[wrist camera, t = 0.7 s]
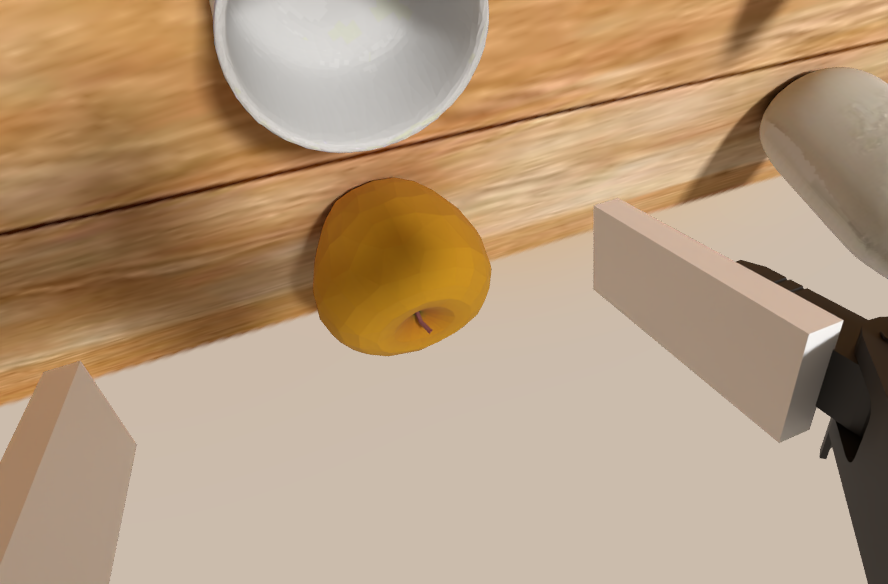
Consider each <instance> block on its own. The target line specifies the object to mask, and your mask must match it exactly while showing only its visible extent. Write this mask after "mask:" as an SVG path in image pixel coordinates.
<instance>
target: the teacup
mask: <svg viewBox="0 0 888 584" xmlns="http://www.w3.org/2000/svg"><path fill="white" fill-rule="evenodd" d="M209 2H210V7H211V12H212V17H213V32H214V45H215V49H216V53H217V56H218V60H219V63H220V66H221V69H222V72H223V74H224V77H225V79H226V81H227V82H228V84H229V86H230V87H231V89H232V91H233V93H234V94H235V96H236V98H237V99H238V100H239V102H240V103H241V104H242V106H243V107H244V108H245V109H246V111H247V112H248V113H249V114H250V115H251V116H252V117H253V118H254V119H255V120H256V121H257V122H258V123H259V124H261V125H263V126H264V127H265V128H267V129H268V130H269V131H271V132H272V133H274V134H276V135H277V136H279V137H281V138H283V139H284V140H286V141H289V142H291V143H294V144H297V145H299V146H302V147H305V148H307V149H312V150H317V151H324V152H335V153H352V152H360V151H369V150H374V149H376V148H382V147H386V146H388V145H391V144H394V143H397V142H399V141H402V140H404V139H406V138H408V137H410V136H411V135H414V134H416V133H418V132H419V131H421V130H422V129H424V128H425V127H427V126H428V125H429V124H430V123H432V122H433V121H435V120H436V119H438V117H439V116H440V115H441V114H442V113H443V112H444V111H445V110H446V109H448V108H449V107H450V106H451V105H452V104H453V103H454V101H455V100H456V99H457V98H458V97H459V95H460V94H461V93H462V92H463V91H464V89H465V88H466V86H467V85H468V83H469V81H470V79H471V77H472V75H473V73H474V72H475V70H476V68H477V65H478V63H479V61H480V58H481V55H482V53H483V50H484V47H485V41H486V37H487V33H488V23H489V5H488V0H209Z"/></svg>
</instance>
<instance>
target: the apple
mask: <svg viewBox="0 0 888 584" xmlns="http://www.w3.org/2000/svg"><path fill="white" fill-rule="evenodd" d="M490 277H491V265H490V262H489V259H488V256H487V254H486V251H485V248H484V245H483V242H482V239H481V237H480V235H479V234H478V232H477V230H476V229H475V228H474V227H473V226H472V224H471V223H470V222H469V221H468V220H467V218H466V217H465V216H464V215H463V214H462V213H461V211H460V210H459V209H458V208H457V207H455V206H454V205H453V204H451V203H450V202H448V201H447V200H446V199H444V198H443V197H442V196H440V195H439V194H438V193H436V192H435V191H433V190H431V189H429V188H427V187H425V186H423V185H421V184H419V183H417V182H414V181H410V180H405V179H399V178H387V179H381V180H375V181H371V182H369V183H367V184H364V185H362V186H360V187H357V188H355V189H353V190H351V191H350V192H348V193H347V194H345V195H344V196H343V197H341V198H340V199H338V200H337V201H336V202H335V204H334V205H333V207H332V209H331V211H330V212H329V214H328V216H327V218H326V220H325V223H324V226H323V228H322V231H321V235H320V239H319V244H318V248H317V252H316V256H315V263H314V280H313V293H314V297H315V301H316V304H317V309H318V313H319V317H320V320H321V321H322V322H323V323H324V325H325V326H326V327H327V329H328V330H329V331H330V332H331V334H332V335H333V336H334V337H335V338H336V339H338V340H339V341H340V342H341V343H343V344H344V345H346V346H348V347H350V348H351V349H353V350H356V351H359V352H362V353H366V354H370V355H380V356H381V355H382V356H392V355H398V354H403V353H408V352H414V351H419V350H422V349H424V348H426V347H428V346H430V345H432V344H434V343H437V342H439V341H441V340H442V339H444V338H446V337H448V336H450V335H452V334H453V333H455V332H457V331H458V330H459V329H460V328H462V327H464V326H465V325H466V324H467V323H468V322H469V321H470V320H471V319H473V318H474V317H475V316H476V315H477V314H478V312H479V310H480V308H481V307H482V305H483V303H484V301H485V298H486V296H487V293H488V290H489V286H490Z"/></svg>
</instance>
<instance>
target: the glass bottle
mask: <svg viewBox="0 0 888 584" xmlns="http://www.w3.org/2000/svg"><path fill="white" fill-rule="evenodd" d="M759 133H760V141H761V144H762V147H763V149H764V151H765V153H766V155H767V157H768V158H769V160H770V162H771V163H772V164H773V166H774V167H775V168H776V170H777V171H778V172H779V173H780V174H781V175H782V176H783V178H784V179H785V180H786V181H787V182H788V183H789V184H790V185H791V186H792V188H793V189H794V190H795V191H796V192H797V193H798V194H799V196H800V197H801V198H802V199H803V200H804V201H805V202H806V203H807V204H808V206H809V207H810V208H811V209H812V210H813V211H814V212H815V213H816V215H817V216H818V217H819V218H820V219H821V220H822V221H823V222H824V224H825V225H826V226H827V227H828V228H829V229H830V230H831V231H832V233H833V234H834V235H835V236H836V237H837V238H838V239H839V240H840V241H841V242H842V243H843V245H844V246H845V247H846V248H847V249H848V250H849V251H850V252H851V253H852V254H853V255H854V256H855V257H857V258H858V259H859V260H860V261H862V262H863V263H865V264H866V265H867V266H869V267H870V268H872V269H873V270H875V271H876V272H878V273H879V274H880V275H882V276H884V277H886V278H887V279H888V84H887V83H886V82H884V81H883V80H881V79H880V78H878V77H876V76H874V75H872V74H870V73H868V72H865V71H862V70H858V69H854V68H846V67H833V68H825V69H821V70H817V71H814V72H812V73H809V74H807V75H805V76H803V77H801V78H799V79H797V80H795V81H794V82H792V83H791V84H789V85H788V86H787V87H786V88H784V89H783V90H782V91H781V92H780V93H778V94H777V95H776V97H775V98H774V99H773V100H772V101H771V103H770V104H769V106H768V107H767V109H766V110H765V112H764V115H763V118H762V121H761V124H760V131H759Z"/></svg>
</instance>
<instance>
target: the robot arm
mask: <svg viewBox="0 0 888 584" xmlns="http://www.w3.org/2000/svg"><path fill="white" fill-rule="evenodd" d="M593 283H594V285H593V287H594V290H595V291H596V292H597V293H599V294H600V295H601V296H602V297H603V298H605V299H606V300H607V301H608V302H610V303H611V304H612V305H613V306H614V307H616V308H617V309H618V310H619V311H620V312H622V313H623V314H624V315H625V316H627V317H628V318H629V319H630V320H631V321H633V322H634V323H635V324H636V325H637V326H639V327H640V328H641V329H642V330H643V331H645V332H646V333H647V334H648V335H649V336H651V337H652V338H653V339H654V340H655V341H657V342H658V343H659V344H660V345H661V346H663V347H664V348H665V349H666V350H668V351H669V352H670V353H671V354H673V355H674V356H675V357H676V358H677V359H678V360H680V361H681V362H682V363H683V364H684V365H686V366H687V367H688V368H689V369H690V370H692V371H693V372H694V373H695V374H697V375H698V376H699V377H700V378H701V379H703V380H704V381H705V382H706V383H708V384H709V385H710V386H711V387H712V388H713V389H715V390H716V391H717V392H718V393H720V394H721V395H722V396H723V397H724V398H726V399H727V400H728V401H729V402H731V403H732V404H733V405H734V406H735V407H737V408H738V409H739V410H740V411H741V412H742V413H744V414H745V415H746V416H747V417H749V418H750V419H751V420H752V421H753V422H755V423H756V424H757V425H758V426H759V427H761V428H762V429H763V430H764V431H765V432H767V433H768V434H769V435H770V436H771V437H773V438H774V439H775V440H776V441H778V442H779V443H780V442H782V441H784V440H787V439H789V438H791V437H794V436H795V435H798V434H800V433H802V432H805V431H807V430H809V429H810V426H811V423H812V420H813V416H814V413H815V410H816V407H817V408H819V409H820V410H822V411H823V412H824V413H826V414H827V415H829V416H830V417H831V419H830V422H829V425H828V428H827V431H826V435H825V437H824V440H823V443H822V446H821V449H820V458H823V459H826V458H827V455H828V452H829V450H830V448H833V451H834V455H835V459H836V463H837V467H838V470H839V474H840V478H841V482H842V486H843V490H844V493H845V497H846V501H847V505H848V509H849V513H850V516H851V520H852V524H853V528H854V532H855V536H856V539H857V543H858V547H859V551H860V555H861V558H862V562H863V566H864V570H865V574H866V578H867V581H868V584H888V317H878V318H875V319H871V320H867V319H865V318H863V317H861V316H859V315H857V314H855V313H853V312H852V311H850V310H848V309H846V308H844V307H842V306H840V305H838V304H836V303H834V302H832V301H830V300H828V299H827V298H825V297H823V296H821V295H819V294H817V293H815V292H813V291H811V290H809V289H803V286H802V285H800V284H798V283H796V282H794V281H792V280H787V279H786V277H784V276H782V275H780V274H779V273H777V272H775V271H772V270H771V269H769V268H767V267H764V266H760V265H757V264H753V263H750V262H746V261H743V260H739V261H737V262H735V261H733V260H731V259H729V258H728V257H726V256H724V255H722V254H720V253H718V252H717V251H715V250H713V249H711V248H709V247H707V246H705V245H704V244H701V243H700V242H698V241H696V240H694V239H693V238H691V237H689V236H687V235H685V234H683V233H681V232H680V231H678V230H676V229H674V228H672V227H670V226H668V225H666V224H665V223H663V222H661V221H659V220H657V219H656V218H654V217H652V216H650V215H648V214H646V213H645V212H643V211H641V210H639V209H637V208H635V207H633V206H632V205H630V204H628V203H626V202H624V201H622V200H621V199H619V198H616V199H613V200H610V201H606V202H603V203H600V204H596V205H594V281H593ZM135 450H136V443H135V441H134V440H133V438H132V437H131V435H130V434H129V432H128V431H127V429H126V428H125V426H124V425H123V424H122V422H121V421H120V419H119V417H118V416H117V415H116V413H115V411H114V410H113V408H112V407H111V405H110V404H109V402H108V401H107V399H106V398H105V396H104V395H103V394H102V392H101V391H100V389H99V388H98V386H97V385H96V383H95V382H94V380H93V379H92V377H91V376H90V374H89V373H88V371H87V370H86V368H85V367H84V365H83V364H82V362H81V361H78V362H75V363H72V364H68V365H65V366H62V367H58V368H55V369H52V370H48V371H45V372H43V374H42V376H41V378H40V380H39V382H38V384H37V386H36V389H35V391H34V393H33V395H32V397H31V399H30V401H29V403H28V405H27V407H26V410H25V412H24V414H23V416H22V418H21V420H20V422H19V424H18V426H17V428H16V431H15V432H14V434H13V437H12V439H11V441H10V443H9V445H8V447H7V449H6V451H5V453H4V455H3V458H2V460H1V462H0V584H109V581H110V576H111V571H112V566H113V561H114V556H115V551H116V546H117V541H118V536H119V531H120V525H121V521H122V516H123V510H124V506H125V501H126V496H127V490H128V486H129V480H130V476H131V470H132V466H133V461H134V455H135Z"/></svg>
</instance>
